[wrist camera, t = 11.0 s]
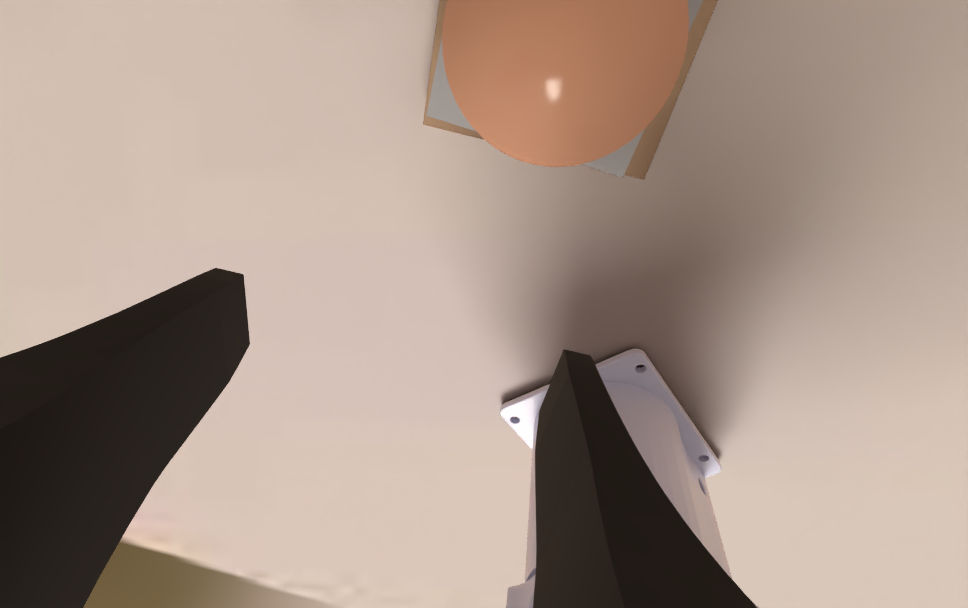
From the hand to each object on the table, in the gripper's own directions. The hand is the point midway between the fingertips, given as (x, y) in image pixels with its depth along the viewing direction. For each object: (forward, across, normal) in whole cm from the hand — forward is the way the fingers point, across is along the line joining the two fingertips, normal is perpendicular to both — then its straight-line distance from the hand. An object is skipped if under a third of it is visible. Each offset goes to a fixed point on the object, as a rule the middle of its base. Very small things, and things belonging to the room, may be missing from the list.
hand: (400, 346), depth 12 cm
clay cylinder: (+6, -2, -6) cm, 9 cm away
